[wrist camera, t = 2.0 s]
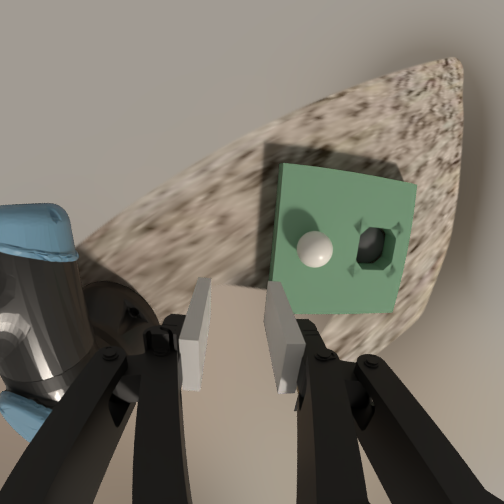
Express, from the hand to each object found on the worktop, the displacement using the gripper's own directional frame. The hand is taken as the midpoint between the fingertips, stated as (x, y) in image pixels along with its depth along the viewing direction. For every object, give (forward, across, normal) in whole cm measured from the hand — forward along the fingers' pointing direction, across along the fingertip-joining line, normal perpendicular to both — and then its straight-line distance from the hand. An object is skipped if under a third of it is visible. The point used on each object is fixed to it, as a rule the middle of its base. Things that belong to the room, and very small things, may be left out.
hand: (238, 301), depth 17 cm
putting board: (+19, -14, 0) cm, 23 cm away
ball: (+14, -8, 0) cm, 16 cm away
